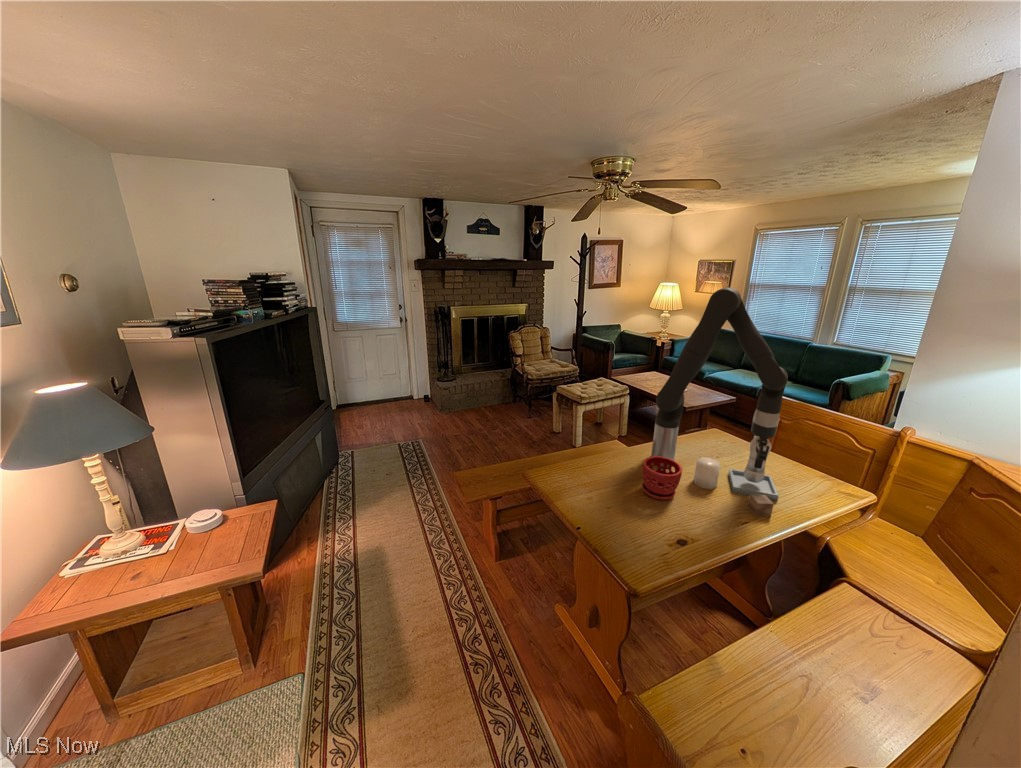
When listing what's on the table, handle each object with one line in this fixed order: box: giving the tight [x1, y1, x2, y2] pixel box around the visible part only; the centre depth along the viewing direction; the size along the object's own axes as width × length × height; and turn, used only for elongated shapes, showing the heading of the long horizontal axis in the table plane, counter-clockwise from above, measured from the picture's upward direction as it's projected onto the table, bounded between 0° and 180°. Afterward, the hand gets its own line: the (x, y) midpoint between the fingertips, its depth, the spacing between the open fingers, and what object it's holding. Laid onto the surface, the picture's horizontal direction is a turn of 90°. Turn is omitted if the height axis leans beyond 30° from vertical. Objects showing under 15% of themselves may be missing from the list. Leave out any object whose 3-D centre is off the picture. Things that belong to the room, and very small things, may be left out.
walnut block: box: [747, 494, 775, 517], centre depth 127 cm, size 5×5×5 cm
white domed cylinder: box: [693, 456, 721, 490], centre depth 143 cm, size 8×8×9 cm
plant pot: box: [641, 456, 683, 501], centre depth 136 cm, size 13×13×12 cm
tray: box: [728, 468, 780, 502], centre depth 141 cm, size 14×14×2 cm
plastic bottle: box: [743, 436, 772, 483], centre depth 138 cm, size 6×7×20 cm
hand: (756, 463), depth 139 cm, fingers closed on plastic bottle, 5 cm apart
